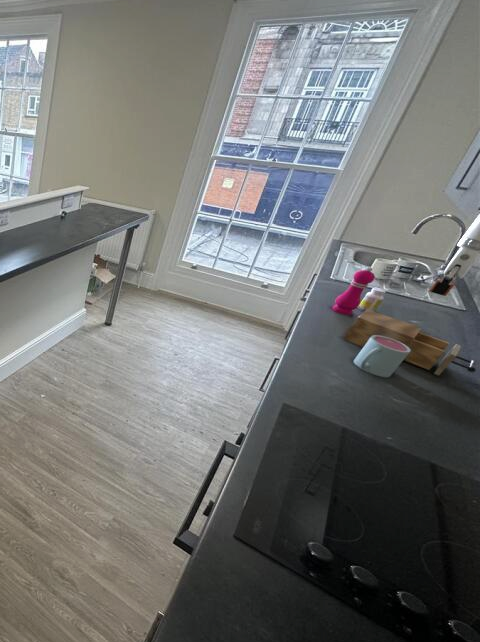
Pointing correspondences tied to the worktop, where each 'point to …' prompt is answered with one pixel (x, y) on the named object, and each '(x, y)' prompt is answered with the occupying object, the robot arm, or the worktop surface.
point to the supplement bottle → (372, 300)
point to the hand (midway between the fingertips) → (438, 291)
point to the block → (447, 290)
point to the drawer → (434, 354)
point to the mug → (381, 355)
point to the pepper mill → (353, 292)
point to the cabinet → (380, 329)
